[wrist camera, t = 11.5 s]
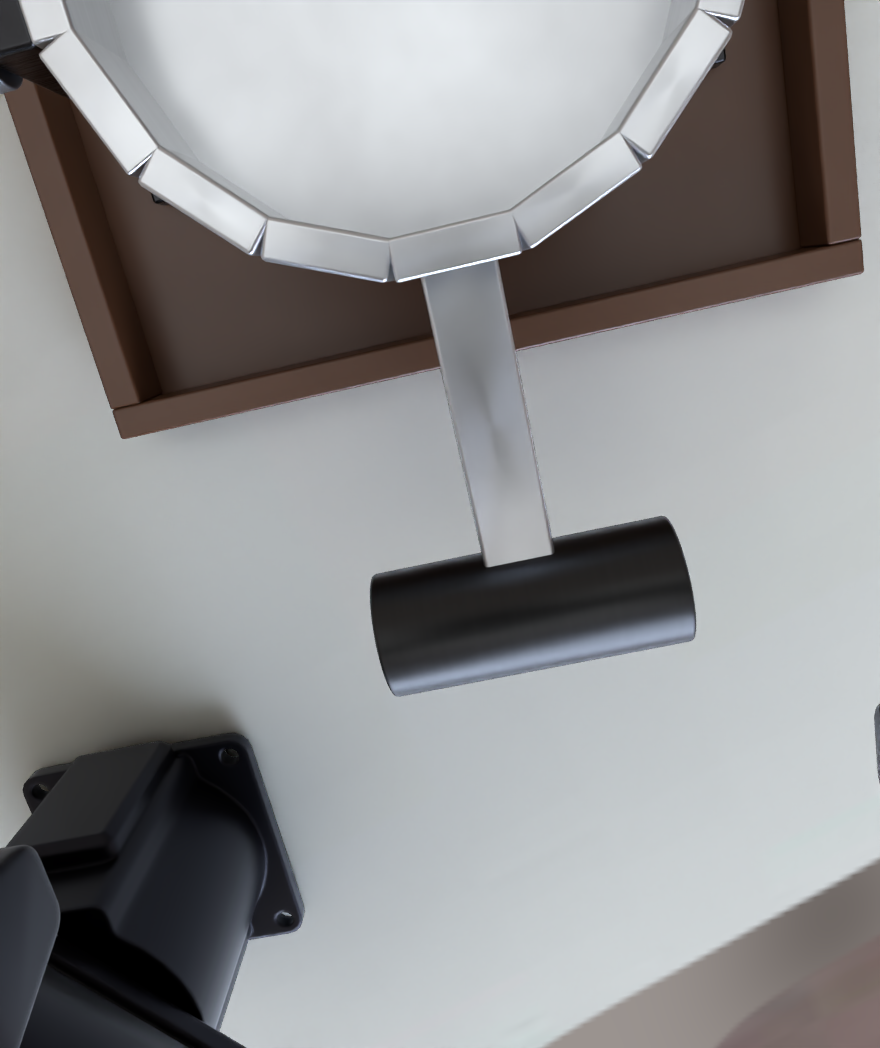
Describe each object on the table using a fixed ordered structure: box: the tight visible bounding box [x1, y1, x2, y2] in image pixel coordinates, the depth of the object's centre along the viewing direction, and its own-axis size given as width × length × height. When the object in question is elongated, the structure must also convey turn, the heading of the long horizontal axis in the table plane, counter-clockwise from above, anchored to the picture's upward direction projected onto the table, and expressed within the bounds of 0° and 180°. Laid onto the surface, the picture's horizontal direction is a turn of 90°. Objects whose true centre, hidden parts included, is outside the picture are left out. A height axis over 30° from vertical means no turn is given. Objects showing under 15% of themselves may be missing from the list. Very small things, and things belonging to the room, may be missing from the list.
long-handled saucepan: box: [18, 0, 745, 697], centre depth 12 cm, size 16×10×3 cm, turn 13°
